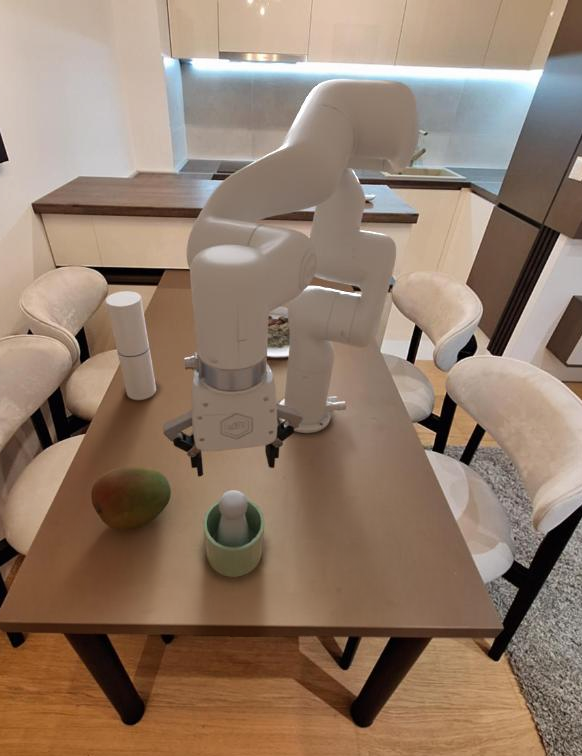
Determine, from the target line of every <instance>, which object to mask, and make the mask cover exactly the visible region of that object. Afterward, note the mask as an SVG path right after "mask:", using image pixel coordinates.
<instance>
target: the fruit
mask: <svg viewBox="0 0 582 756" xmlns="http://www.w3.org/2000/svg"><path fill="white" fill-rule="evenodd" d="M170 485H171V484H170V483H169V481H168V479H167V478H166V476H165V475H164V474H163V473H161V472H159V471H156V470H153V469H149V468H143V467H139V466H122V467H117V468H114V469H111V470H110V471H108V472H106V473H104V474H102V476H100V477H99V478H98V479H97V480H96V481H95V483H94V484H93V486H92V488H91V493H90V497H91V504H92V506H93V510H94V511H95V512H96V514H97V516H98V517H99V518H100V519H101V521H102V522H103V523H104V524H105V525H106V526H107V527H109V528H111V529H114V530H120V531H127V530H132V529H136V528H140V527H143V526H145V525H147V524H149V523H150V522H152V521H153V520H155V519H156V518H157V517H158V516H159V515H160V514H161V513H162V512H163V511H164V510H165V509H166V507H167V506H168V504H169V502H170V499H171V494H172V492H171V491H172V490H171V486H170Z"/></svg>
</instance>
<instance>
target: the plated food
mask: <svg viewBox="0 0 582 756" xmlns="http://www.w3.org/2000/svg"><path fill="white" fill-rule="evenodd" d="M289 344H290V333H289V322H288V307H286V306H280V307H278V308H276V309H274V310H272V311H271V312H270V313H269V318H268V343H267V358H275V359H276V358H288V357H289Z"/></svg>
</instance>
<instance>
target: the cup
mask: <svg viewBox="0 0 582 756" xmlns="http://www.w3.org/2000/svg"><path fill="white" fill-rule="evenodd" d="M219 500H220V499H219ZM219 500H216V501H215V502H214V503H213V504H211V505H210V507H209V508H208V509H207V511H206V513H205V515H204V518H203V523H202V524H203V533H204V534H203V535H204V546H205V554H206V559H207V561H208V563H209V565H210V566H211V568H212V569H213V570H214V571H215V572H217V573H219V574H220V575H222V576H226V577H229V578H230V577H231V578H235V577H242V576H246V575H247V574H249V573H250V572H252V571H253V570H254V569H255V568H256V567H257V566H258V564H259V563H260V561H261V559H262V556H263V547H264V538H265V537H264V536H265V518H264V513H263V512H262V510H261V509H260V507H259V506H258V504H256V503H255V502H254V501H252V500H251V499H249V498H246V500H247V503H248V506H247V510H246V513H245V516H246V520H247V524H248V527H249V531H250V535H251V542H250V543H248V544H246V545H244V546H240V547H233V548H232V547H226V546H223V545H221V544H219V543H217V542H216V535H217V531H218V527H219V523H220V519H221V515H222V514H221V513H220V510H219V505H218V504H219Z"/></svg>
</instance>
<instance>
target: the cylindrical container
mask: <svg viewBox="0 0 582 756" xmlns="http://www.w3.org/2000/svg"><path fill="white" fill-rule="evenodd" d="M105 303H106V308H107V312H108V316H109V322H110V325H111V330H112V335H113V339H114V343H115V348H116V352H117V353H116V354H117V358H118V361H119V366H120V370H121V374H122V379H123V383H124V388H125V393H126V396H127V397H128V398H129V399H131V400H135V401H142V400H146V399H147V400H148V399H150V398H151V397H153V396H154V395H155V393H156V391H157V386H156V380H155V374H154V373H155V372H154V368H153V362H152V356H151V350H150V344H149V338H148V331H147V325H146V319H145V312H144V307H143V299H142V296H141V294H140V293H138V292H136V291H132V290H131V291H130V290H123V291H117V292H113V293H111V294H110V295H108V296H107V297H106V298H105Z"/></svg>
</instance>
